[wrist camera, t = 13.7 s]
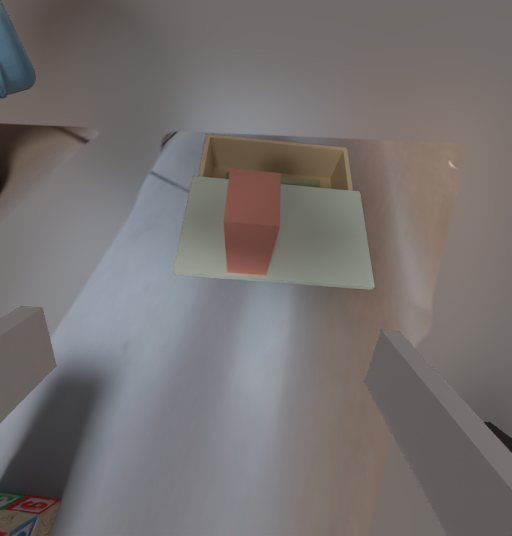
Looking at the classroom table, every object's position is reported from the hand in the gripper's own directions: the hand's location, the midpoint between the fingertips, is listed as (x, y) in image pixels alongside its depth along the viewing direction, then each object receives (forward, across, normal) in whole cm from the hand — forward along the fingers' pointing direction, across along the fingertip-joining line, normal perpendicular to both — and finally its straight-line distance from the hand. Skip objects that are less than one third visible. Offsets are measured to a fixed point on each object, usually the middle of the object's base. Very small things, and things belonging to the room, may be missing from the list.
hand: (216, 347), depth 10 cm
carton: (+31, +4, +2) cm, 32 cm away
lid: (+20, +4, 0) cm, 21 cm away
